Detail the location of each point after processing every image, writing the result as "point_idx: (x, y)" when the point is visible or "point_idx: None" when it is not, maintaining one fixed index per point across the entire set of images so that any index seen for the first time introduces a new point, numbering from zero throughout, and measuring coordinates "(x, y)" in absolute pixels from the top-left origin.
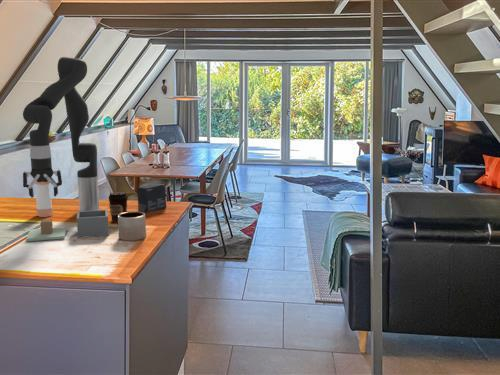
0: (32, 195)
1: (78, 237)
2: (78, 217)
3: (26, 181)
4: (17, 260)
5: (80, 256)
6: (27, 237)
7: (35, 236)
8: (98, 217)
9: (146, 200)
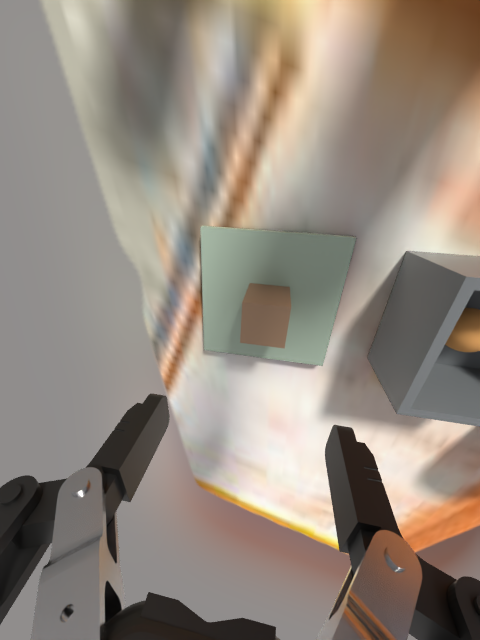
0: (159, 436)
1: (369, 358)
2: (410, 403)
3: (8, 602)
4: (207, 451)
5: None
6: (205, 336)
7: (229, 335)
8: None
9: None
